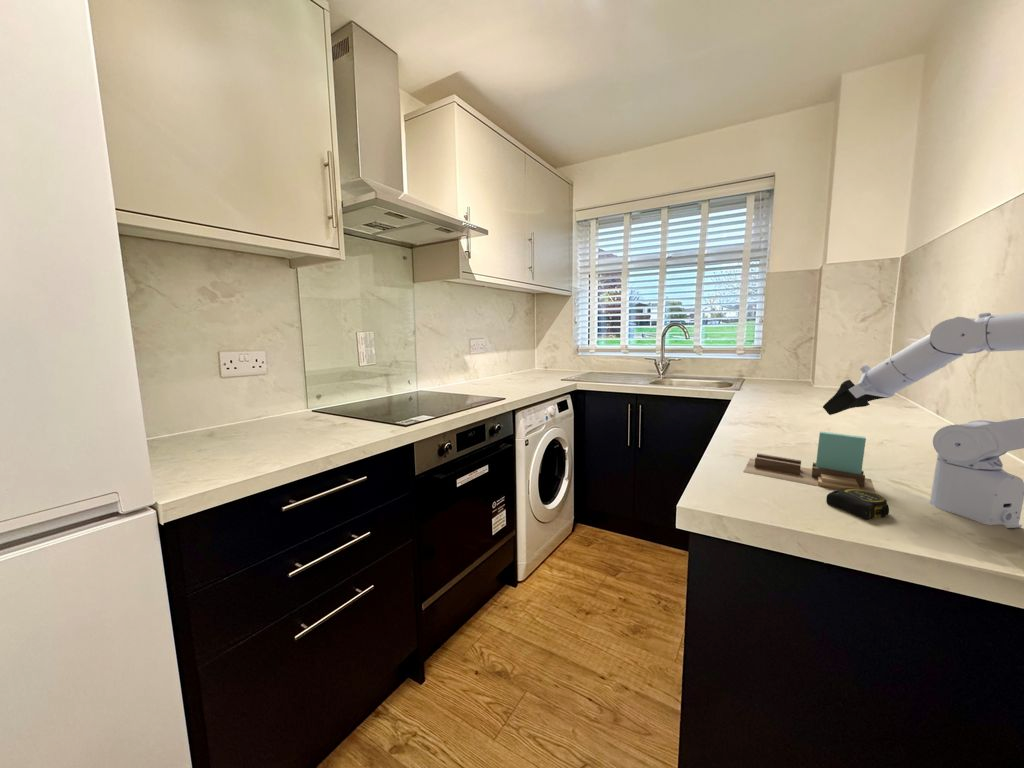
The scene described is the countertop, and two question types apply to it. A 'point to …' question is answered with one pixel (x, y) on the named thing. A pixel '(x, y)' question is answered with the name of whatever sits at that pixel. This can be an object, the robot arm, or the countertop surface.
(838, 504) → the tape measure
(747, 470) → the walnut rack
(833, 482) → the upper oak offcut
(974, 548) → the countertop surface
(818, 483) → the lower oak offcut
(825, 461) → the teal sheet
